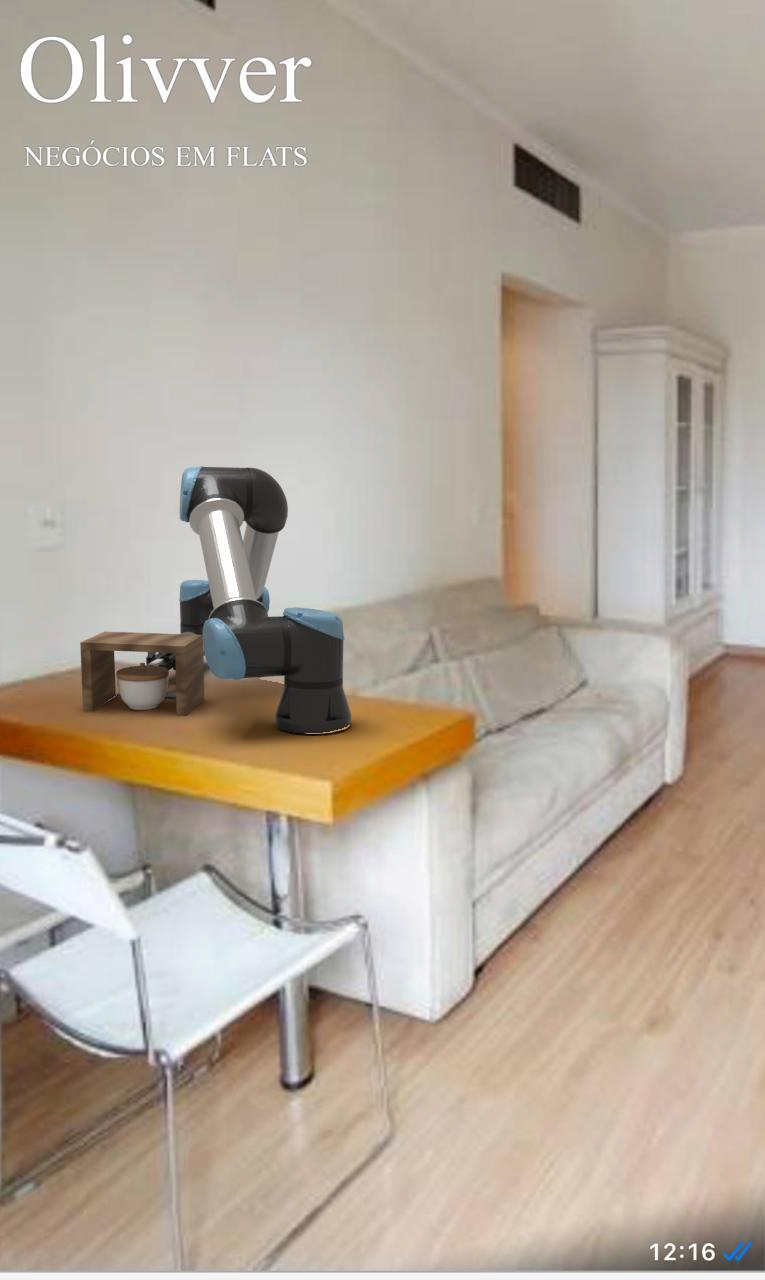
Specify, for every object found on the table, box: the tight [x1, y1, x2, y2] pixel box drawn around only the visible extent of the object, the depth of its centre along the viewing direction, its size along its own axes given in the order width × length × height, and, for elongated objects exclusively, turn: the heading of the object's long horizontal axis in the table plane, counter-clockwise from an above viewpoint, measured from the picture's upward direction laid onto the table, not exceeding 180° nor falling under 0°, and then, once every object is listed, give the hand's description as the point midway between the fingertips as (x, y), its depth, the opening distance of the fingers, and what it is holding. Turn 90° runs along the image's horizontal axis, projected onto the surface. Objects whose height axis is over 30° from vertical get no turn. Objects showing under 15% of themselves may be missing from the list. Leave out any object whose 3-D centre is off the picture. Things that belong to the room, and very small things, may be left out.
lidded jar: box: [115, 662, 170, 711], centre depth 203 cm, size 11×11×9 cm
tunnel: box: [79, 631, 205, 716], centre depth 204 cm, size 22×13×14 cm, turn 84°
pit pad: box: [116, 691, 176, 700], centre depth 213 cm, size 18×4×1 cm, turn 84°
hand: (150, 671), depth 209 cm, fingers closed
